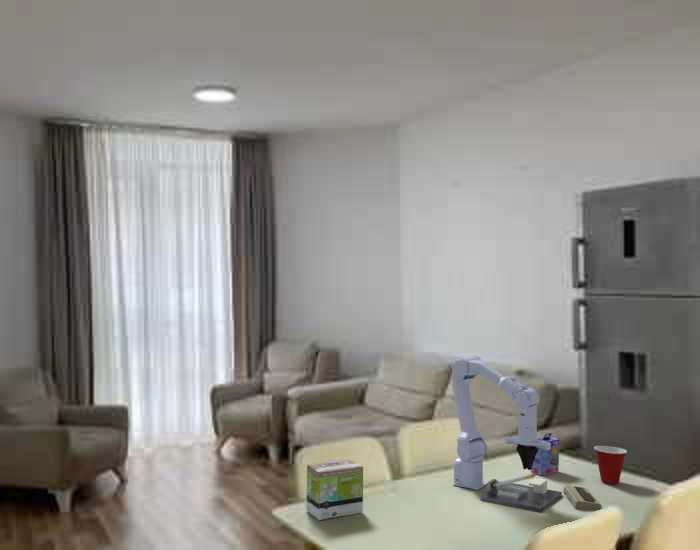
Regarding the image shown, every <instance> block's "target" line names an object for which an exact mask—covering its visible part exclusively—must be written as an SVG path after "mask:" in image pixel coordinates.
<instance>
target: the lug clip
mask: <svg viewBox="0 0 700 550" xmlns="http://www.w3.org/2000/svg"><path fill="white" fill-rule="evenodd" d="M528 486H531V487H533V492H535V493H540V494H545V493H546V492H547V489H548V480H547V479H543V478H538V477H536V478H534V479H533V480H531V481H530V482H529V483H528Z"/></svg>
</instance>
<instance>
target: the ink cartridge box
mask: <svg viewBox="0 0 700 550" xmlns="http://www.w3.org/2000/svg"><path fill="white" fill-rule="evenodd" d="M552 435H553V433H552V432H551V433H546V434H544V435H543V437H537V440H540V441H544V442H548V443H551V449H550V450H545V449H541V448H539V450H538V452H537V454H536V456H535V459H534V462H533V466H532V469H531V470H530V473H531V474H533V473H535V474H536V476H537V475H538V476H541V477H543V476H547V475H550V474H551V475H552V474H555V473H558V472H559V469H560V468H559V466H560V464H559V463H560V439H559V438H556V437H553V436H552Z"/></svg>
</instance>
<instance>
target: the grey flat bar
mask: <svg viewBox="0 0 700 550" xmlns="http://www.w3.org/2000/svg"><path fill="white" fill-rule="evenodd" d="M536 476H537V474H535V473H529V474H526V475H522V476H518V477H515V478H510V479H509V478H508V479H506V480H502V481H501V480H500V481H498V480H497V482H495V483H494V484H492V488H496V487H497V486H501V485H505V484H509V483H517V482H521V481H526V480H529V479H533V478H535V477H536Z"/></svg>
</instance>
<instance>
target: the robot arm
mask: <svg viewBox="0 0 700 550" xmlns="http://www.w3.org/2000/svg"><path fill="white" fill-rule="evenodd" d="M450 368H451V372H452V378H451V384H452V390H453V395H454V399H455V400H454V402H455V406H456V410H457V412H456V413H457V416H458V421H459V428H460V434H459V436H457V439H456V442H457V444H456V445H457V447H456V453H457V456H458V457H457V458H456V459H455V461H454V463H453V484H452V485H453V486H456V487H461V488H466V489H472V490H477V491H478V490H480V489H482V488H484V487H485V486H487V482H486V481H484V472H483V471H484V469H483V468H484V463H483V462H484V461H483V460H484V459H485V455H486V454H487V452H488V444H487V442H486V441H485V439H484V434H483V433H481V432H480V431H479V430H478V427H477V422H476V416H475V413H474V407H473V406H474V405H473V401H472V397H471V396H472V395H471V389H470V384H471V382H472V380H473V379H475V378H476V377H477V376H482V377H483V378H486V379H488V380H489V381H490V382H492V383H494V384H495V385H497V386H498V388H499V389H498V390H499V391H500V392H502V394H504V395H505V396H508V397H509V398H510V399H512V400H513V401H514V404H515V405H516V407H517V408H516V410H517V413H518V415H517V416H518V417H517V418H518V420H517V421H518V426H517V428H518V437H512V436H506V437H505V438H504V439H505V440H504V443H505V445H516V446H517V447H516V448H515V451H516V452H517V454H518V456H519V458H520V460H521V464H522V468H523V470H526V469H527V470H528V471H531V469H532V466H533V462H534V459H535V456H536V454H537V452H538V450H539V448H541V449H545V450H550V449H551V443H548V442H544V441H540V440H537V438H538V436H537V435H538V433H537V431H538V430H537V426H538V425H537V423H538V418H537V413H538V412H537V411H538V410H537V407H538V405H539V404H540V402H541V395H540V392H539V391H538V390H537V389H536V388H534V387H527V385H526V384H522V383H521V382H519V381H518V380H516V377H514V376H513V375H512V376H510V375H506V376H504V375H503V374H501V373H500V372H499V371H497V370H496V369H495V368H493V367H492V366H491V365H489V363H487V362H486V360H485V359H483V358H481V356H480V357H479V356H478V355H474V356H469V357H463V358H462V357H461V358H456V359H455V360H454V361H453V363H452V364H451V367H450Z"/></svg>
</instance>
